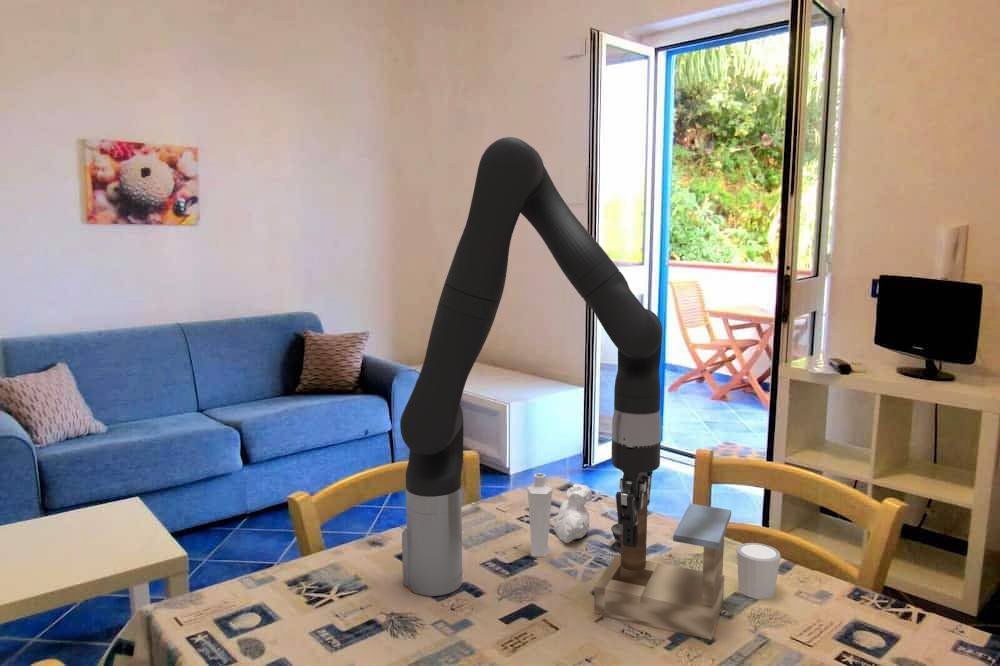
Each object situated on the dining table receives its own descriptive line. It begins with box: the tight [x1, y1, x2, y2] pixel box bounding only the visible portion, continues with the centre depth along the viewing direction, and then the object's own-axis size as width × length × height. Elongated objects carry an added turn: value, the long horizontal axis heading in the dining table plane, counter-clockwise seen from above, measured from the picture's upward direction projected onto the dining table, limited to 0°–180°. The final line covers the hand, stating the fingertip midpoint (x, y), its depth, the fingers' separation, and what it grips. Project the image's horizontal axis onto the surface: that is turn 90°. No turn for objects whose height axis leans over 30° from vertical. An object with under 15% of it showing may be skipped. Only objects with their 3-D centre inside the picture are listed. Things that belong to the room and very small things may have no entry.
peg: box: [620, 493, 648, 571], centre depth 117 cm, size 4×4×12 cm
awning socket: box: [593, 503, 732, 641], centre depth 116 cm, size 18×13×16 cm
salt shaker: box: [610, 523, 621, 553], centre depth 138 cm, size 6×6×12 cm
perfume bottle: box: [527, 472, 553, 558], centre depth 135 cm, size 5×4×15 cm
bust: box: [553, 483, 593, 544], centre depth 143 cm, size 12×8×11 cm
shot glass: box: [736, 542, 781, 600], centre depth 122 cm, size 7×7×7 cm
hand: (633, 539), depth 118 cm, fingers closed on peg, 4 cm apart
